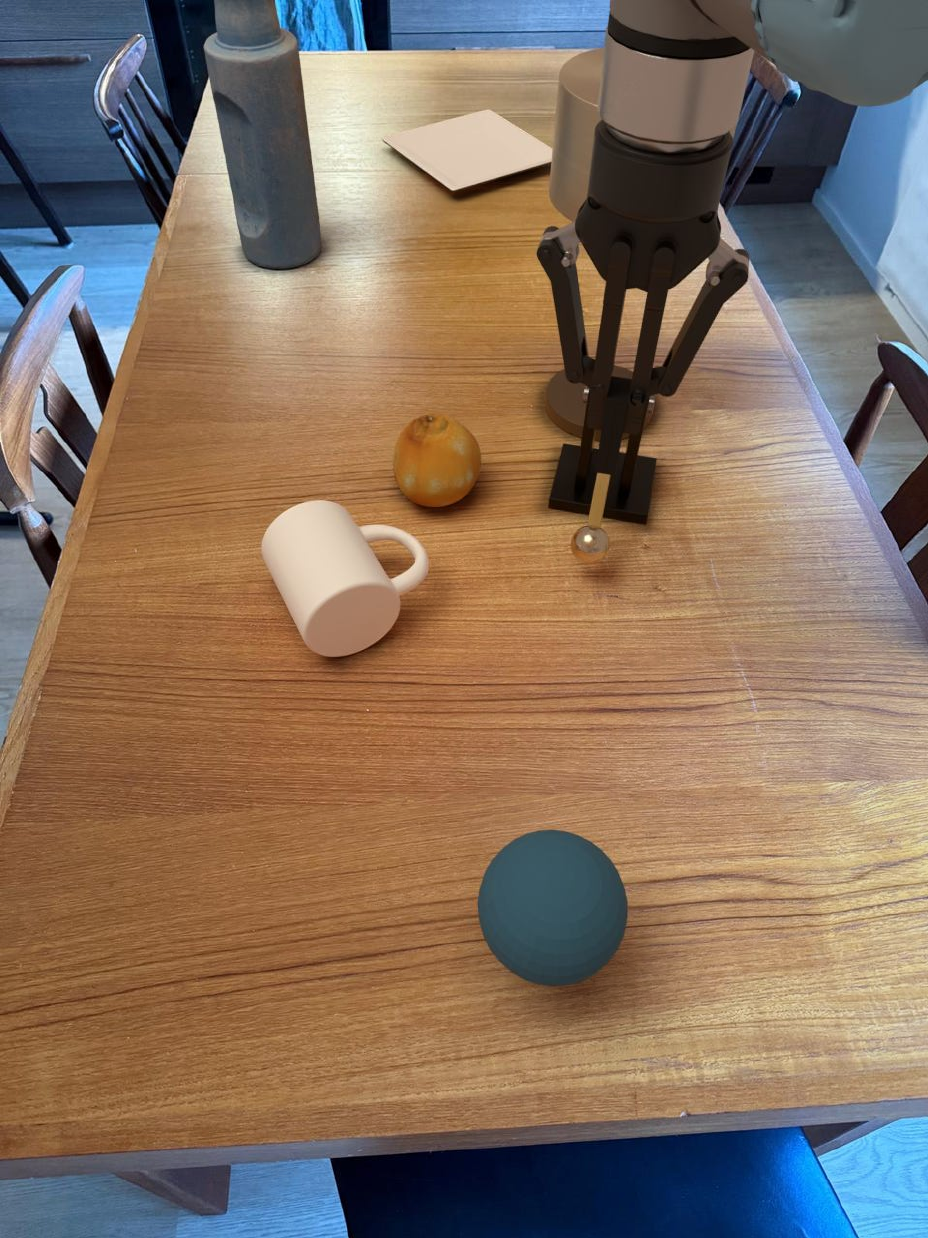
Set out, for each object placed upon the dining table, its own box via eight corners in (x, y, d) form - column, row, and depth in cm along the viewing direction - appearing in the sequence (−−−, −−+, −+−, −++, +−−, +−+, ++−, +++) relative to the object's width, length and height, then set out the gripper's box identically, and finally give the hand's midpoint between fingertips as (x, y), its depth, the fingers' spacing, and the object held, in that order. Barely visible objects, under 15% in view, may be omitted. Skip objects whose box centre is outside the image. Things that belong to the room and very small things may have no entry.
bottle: (338, 250, 110) (310, -43, 87) (274, 280, 106) (226, -21, 83) (289, 222, 114) (250, -65, 91) (226, 250, 110) (167, -45, 87)
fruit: (369, 447, 83) (390, 410, 76) (447, 427, 86) (474, 390, 79) (400, 528, 83) (424, 499, 75) (477, 506, 86) (507, 475, 78)
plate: (452, 204, 118) (452, 188, 117) (381, 151, 128) (380, 135, 126) (564, 170, 125) (566, 155, 123) (488, 122, 135) (489, 107, 133)
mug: (310, 671, 70) (297, 605, 64) (268, 585, 75) (252, 517, 69) (448, 619, 73) (448, 551, 67) (398, 540, 79) (394, 471, 73)
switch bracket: (646, 524, 81) (671, 419, 72) (547, 507, 82) (560, 402, 73) (654, 467, 86) (679, 362, 77) (561, 452, 87) (575, 346, 78)
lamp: (661, 461, 86) (741, 126, 63) (518, 438, 88) (544, 104, 64) (673, 376, 95) (748, 54, 71) (543, 357, 97) (574, 36, 73)
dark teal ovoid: (454, 916, 58) (456, 832, 48) (572, 872, 60) (595, 784, 51) (505, 1046, 53) (517, 981, 44) (631, 994, 55) (668, 921, 46)
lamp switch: (605, 571, 75) (607, 561, 72) (567, 564, 75) (567, 554, 72) (638, 395, 78) (641, 378, 75) (601, 389, 78) (603, 372, 75)
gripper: (788, 108, 50) (698, 444, 68) (557, 85, 52) (530, 418, 70) (788, 166, 45) (692, 510, 63) (534, 138, 47) (511, 480, 65)
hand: (607, 461), depth 66 cm, fingers closed
